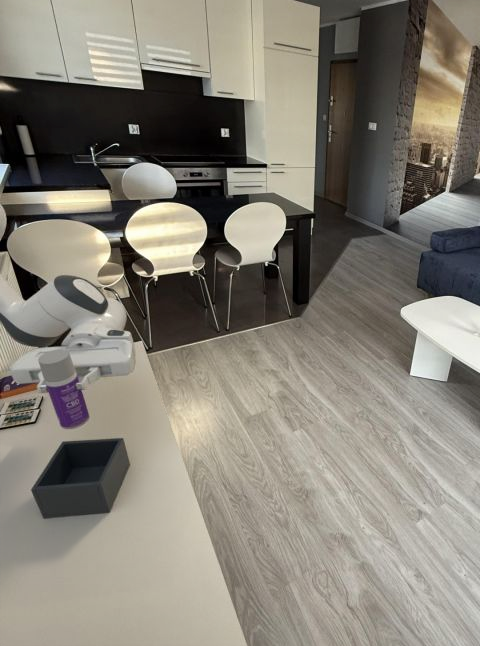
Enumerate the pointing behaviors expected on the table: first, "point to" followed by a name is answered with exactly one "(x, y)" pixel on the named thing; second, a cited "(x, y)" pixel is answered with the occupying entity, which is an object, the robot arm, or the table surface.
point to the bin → (82, 478)
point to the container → (63, 388)
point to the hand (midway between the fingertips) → (61, 388)
